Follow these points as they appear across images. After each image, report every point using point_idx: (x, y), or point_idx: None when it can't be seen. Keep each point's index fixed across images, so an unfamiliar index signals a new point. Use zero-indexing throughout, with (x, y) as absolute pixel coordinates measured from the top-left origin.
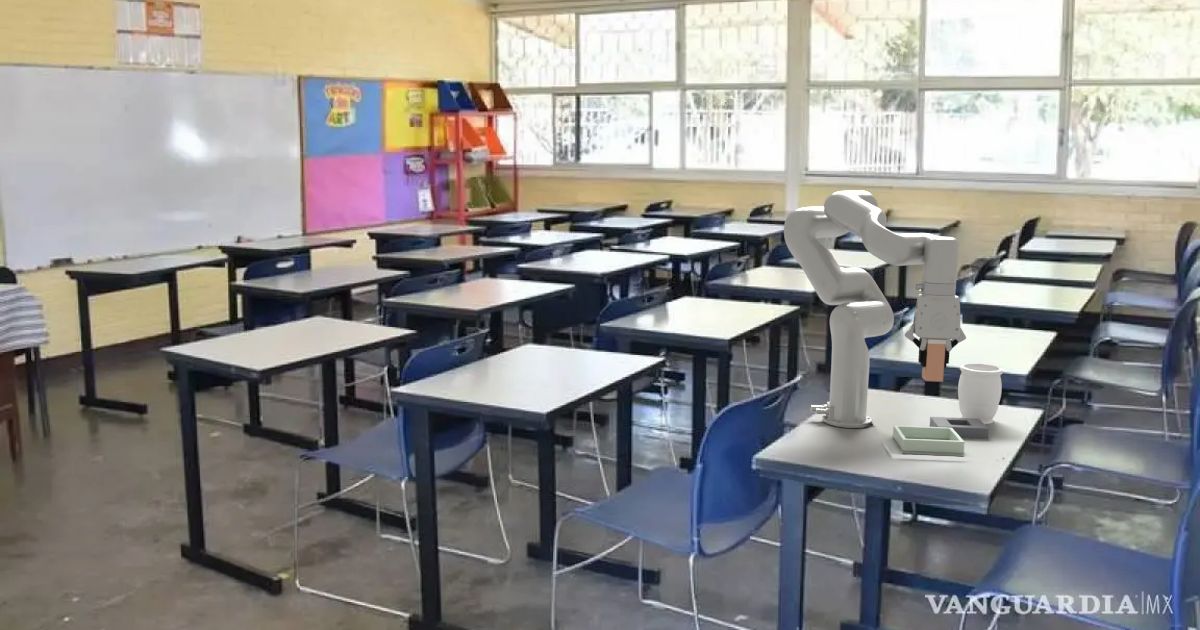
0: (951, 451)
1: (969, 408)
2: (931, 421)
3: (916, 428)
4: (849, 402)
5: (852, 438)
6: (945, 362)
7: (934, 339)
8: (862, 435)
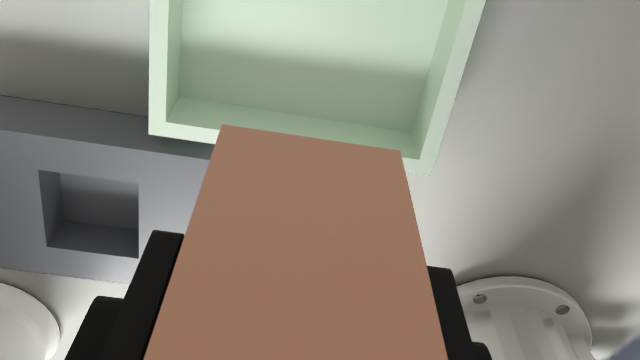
0: None
1: (6, 347)
2: None
3: None
4: None
5: (589, 161)
6: (152, 272)
7: None
8: (521, 198)
